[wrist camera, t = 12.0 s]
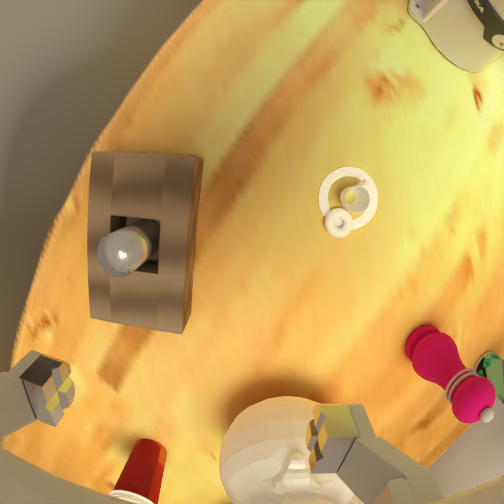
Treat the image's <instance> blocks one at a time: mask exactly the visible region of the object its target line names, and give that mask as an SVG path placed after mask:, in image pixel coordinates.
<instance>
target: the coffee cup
mask: <svg viewBox="0 0 504 504" xmlns="http://www.w3.org/2000/svg"><path fill="white" fill-rule="evenodd" d="M165 461H166V449H165V448H164V447H163V446H162V445H161V444H160V443H158V442H156V441H153V440H150V439H141V440H139V441H138V442H137V443H136V445H135V447H134V448H133V450H132V452H131V454H130V456H129V458H128V460H127V463H126V465H125V467H124V469H123V471H122V473H121V475H120V477H119V479H118V481H117V483H116V485H115V487H114V489H113V491H111V492H110V493H109V495H111V496H114V497H117V498H120V499H124V500H127V501H131V502H135V503H138V504H158V499H159V494H160V488H161V483H162V477H163V472H164V466H165Z"/></svg>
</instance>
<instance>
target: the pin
mask: <svg viewBox="0 0 504 504" xmlns="http://www.w3.org/2000/svg"><path fill="white" fill-rule="evenodd" d="M159 242H160V224H159V223H158V222H156V221H155V220H152V219H144V220H141V221H139V222H136V223H134V224H131V225H129V226H126V227H124V228H121V229H119V230H117V231H114V232H112V233H110V234H107V235H106V236H104V237H103V238H102V239H101V241H100V242H99V245H98V248H97V257H98V261H99V264H100V266H101V267H102V269H103V270H104V271H105V272H106V273H108V274H109V275H111V276H113V277H118V278H122V277H126V276H128V275H130V274H131V273H132V272H133V271H134V270H136V269H137V268H138V267H139V266H141V265H142V264H143V263H144V262H145V261H147V260H148V259H149V258H150V257H152V256H153V255H154V254H155V253H157V252H158V251H159Z"/></svg>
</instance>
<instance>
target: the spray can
mask: <svg viewBox="0 0 504 504" xmlns="http://www.w3.org/2000/svg"><path fill="white" fill-rule="evenodd" d="M474 371H475V373H477V374H478V375H479V377H485V378H487V379H488V380H490V381H491V383H492V384H493V386H494V388H495V392H496V396H497V397H498V398H499V399H500V400H501V401H502V402H503V403H504V361H503V360H502V359H501V358H500V357H499V356H498V355H496V354H495V353H494V352H492V351H487V352H485V353H484V354H483V355H482V356H481V357H480V358H479V359H478V361H477V362H476V364H475V368H474Z"/></svg>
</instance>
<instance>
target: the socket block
mask: <svg viewBox="0 0 504 504" xmlns="http://www.w3.org/2000/svg"><path fill="white" fill-rule="evenodd" d="M203 160H204V159H202V158H200V157H197V156H194V155H179V154H162V153H141V152H92V160H91V171H90V184H89V202H88V239H87V247H88V285H89V302H90V315H91V318H93V319H98V320H103V321H108V322H113V323H118V324H123V325H129V326H134V327H140V328H146V329H151V330H157V331H164V332H170V333H177V334H182V333H183V331H184V328H185V326H186V324H187V321H188V319H189V317H190V315H191V302H192V285H193V269H194V255H195V242H196V230H197V219H198V208H199V198H200V188H201V178H202V169H203ZM144 219H152V220H155V221H156V222H158V223H159V224H160V242H159V251H158V252H157V253H155V254H154V255H153V256H152V257H150V258H149V259H148V260H147V261H145V262H144V263H143V264H142V265H141V266H139V267H138V268H137V269H136V270H134V271H133V272H132V273H131V274H130V275H128V276H126V277H122V278H118V277H113V276H111V275H109V274H108V273H106V272H105V271H104V270H103V269H102V267H101V266H100V264H99V261H98V257H97V248H98V245H99V242H100V241H101V239H102V238H103V237H104V236H106V235H107V234H110V233H112V232H114V231H117V230H119V229H121V228H124V227H126V226H129V225H131V224H134V223H136V222H139V221H141V220H144Z"/></svg>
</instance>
